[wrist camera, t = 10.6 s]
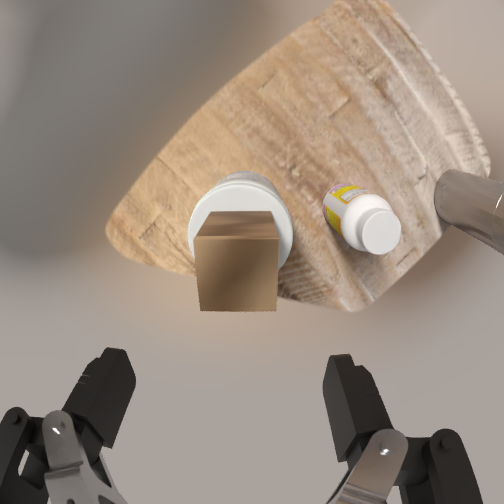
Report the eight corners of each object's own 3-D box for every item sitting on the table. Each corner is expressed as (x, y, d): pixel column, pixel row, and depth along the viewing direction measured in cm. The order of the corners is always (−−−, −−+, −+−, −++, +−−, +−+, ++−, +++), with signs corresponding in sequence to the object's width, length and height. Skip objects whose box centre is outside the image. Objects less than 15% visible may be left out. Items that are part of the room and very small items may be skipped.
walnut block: (271, 210, 22) (279, 238, 16) (270, 266, 24) (276, 311, 18) (210, 211, 22) (192, 239, 16) (213, 266, 24) (200, 310, 18)
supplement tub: (286, 227, 38) (305, 275, 24) (222, 244, 39) (207, 299, 25) (269, 160, 35) (280, 170, 21) (201, 180, 36) (170, 202, 22)
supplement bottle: (350, 234, 38) (387, 273, 26) (313, 215, 37) (340, 249, 25) (371, 195, 36) (418, 220, 24) (335, 174, 35) (373, 189, 23)
